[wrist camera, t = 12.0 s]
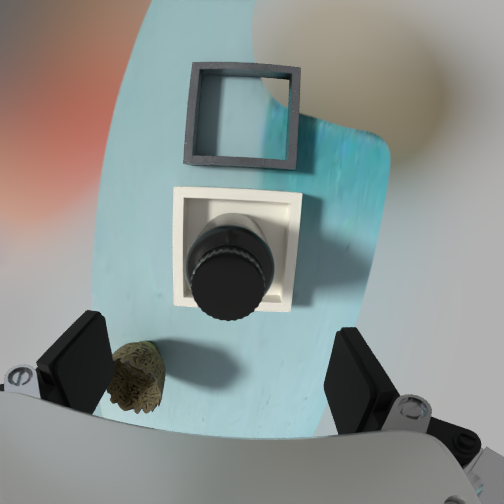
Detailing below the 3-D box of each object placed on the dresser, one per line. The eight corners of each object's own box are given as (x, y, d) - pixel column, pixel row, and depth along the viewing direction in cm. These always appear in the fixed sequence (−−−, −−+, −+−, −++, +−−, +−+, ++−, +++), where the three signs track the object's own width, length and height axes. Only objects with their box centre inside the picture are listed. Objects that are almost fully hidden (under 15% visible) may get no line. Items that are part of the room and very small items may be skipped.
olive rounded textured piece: (187, 364, 34) (174, 407, 26) (142, 379, 34) (124, 419, 27) (154, 316, 32) (132, 353, 24) (110, 336, 33) (84, 371, 25)
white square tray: (179, 185, 28) (173, 186, 26) (297, 192, 29) (302, 193, 26) (179, 296, 31) (174, 305, 29) (287, 302, 32) (290, 312, 29)
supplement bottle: (213, 285, 31) (196, 345, 19) (190, 224, 29) (155, 255, 17) (275, 264, 30) (293, 317, 19) (254, 202, 29) (260, 218, 17)
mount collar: (195, 69, 25) (192, 62, 23) (297, 74, 26) (300, 67, 24) (187, 164, 28) (183, 163, 26) (292, 170, 28) (295, 169, 26)
